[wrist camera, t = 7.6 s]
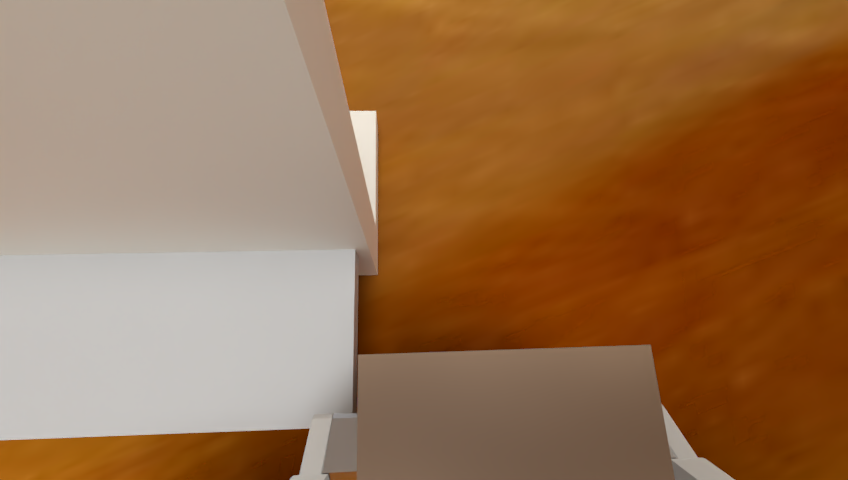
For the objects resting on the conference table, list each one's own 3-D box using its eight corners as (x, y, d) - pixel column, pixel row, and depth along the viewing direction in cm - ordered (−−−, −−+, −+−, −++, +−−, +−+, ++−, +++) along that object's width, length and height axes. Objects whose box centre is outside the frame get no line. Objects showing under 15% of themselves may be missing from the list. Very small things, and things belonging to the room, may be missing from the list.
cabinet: (547, 514, 16) (716, 709, 7) (387, 522, 15) (354, 733, 7) (530, 351, 17) (650, 344, 8) (386, 357, 17) (358, 354, 8)
